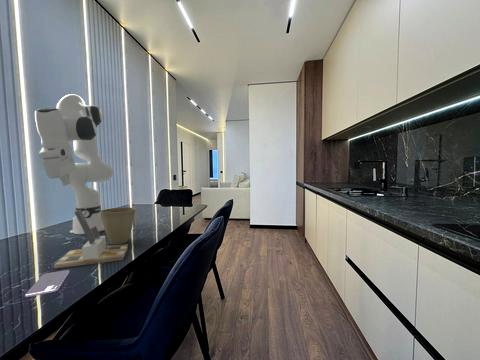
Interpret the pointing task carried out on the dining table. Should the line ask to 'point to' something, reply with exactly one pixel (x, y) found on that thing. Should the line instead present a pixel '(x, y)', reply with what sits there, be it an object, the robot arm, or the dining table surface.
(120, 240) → the plant pot
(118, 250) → the base
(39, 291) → the mobile phone
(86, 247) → the switch housing
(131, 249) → the dining table surface
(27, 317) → the dining table surface
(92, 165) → the robot arm
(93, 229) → the aux switch
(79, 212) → the main switch
